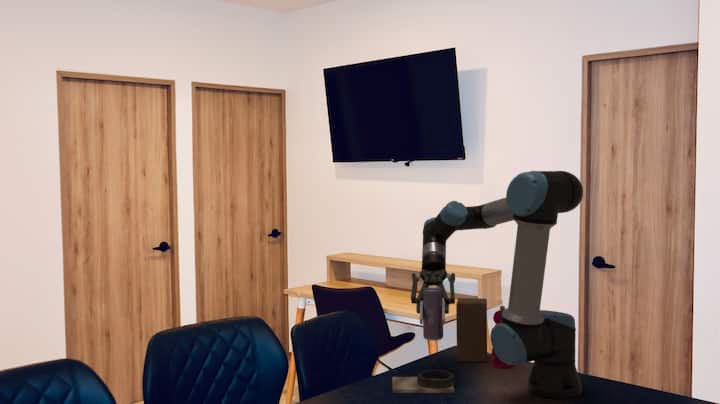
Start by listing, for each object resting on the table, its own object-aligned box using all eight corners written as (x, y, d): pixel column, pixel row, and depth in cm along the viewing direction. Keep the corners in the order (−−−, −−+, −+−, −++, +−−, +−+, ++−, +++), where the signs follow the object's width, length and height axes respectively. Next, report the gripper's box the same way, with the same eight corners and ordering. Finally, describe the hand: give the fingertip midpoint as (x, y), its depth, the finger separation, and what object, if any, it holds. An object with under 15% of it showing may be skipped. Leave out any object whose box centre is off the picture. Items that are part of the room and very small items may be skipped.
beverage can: (446, 337, 204) (445, 288, 204) (438, 341, 199) (437, 291, 199) (428, 335, 207) (427, 286, 207) (420, 339, 202) (418, 289, 202)
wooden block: (486, 362, 227) (486, 303, 226) (456, 361, 229) (456, 303, 228) (487, 354, 237) (486, 298, 236) (458, 353, 239) (457, 297, 238)
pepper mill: (487, 365, 224) (486, 305, 223) (500, 361, 228) (500, 302, 228) (505, 370, 218) (504, 308, 217) (518, 365, 223) (518, 305, 222)
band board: (451, 380, 209) (451, 369, 209) (455, 392, 197) (455, 381, 197) (392, 380, 209) (392, 369, 209) (392, 392, 198) (392, 381, 197)
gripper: (464, 267, 216) (464, 329, 201) (405, 267, 219) (401, 328, 204) (463, 252, 211) (464, 314, 195) (403, 252, 214) (399, 314, 198)
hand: (432, 321), depth 200 cm, fingers closed on beverage can, 6 cm apart
